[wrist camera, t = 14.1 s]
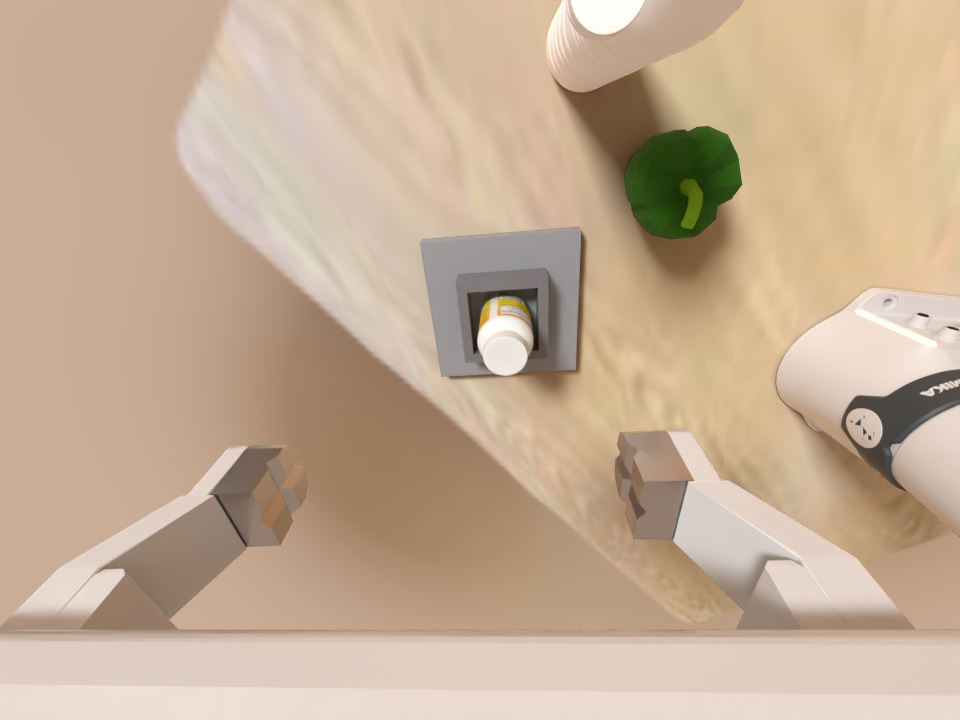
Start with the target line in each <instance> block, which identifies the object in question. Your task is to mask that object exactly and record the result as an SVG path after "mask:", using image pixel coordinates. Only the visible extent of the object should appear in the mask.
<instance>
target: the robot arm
mask: <svg viewBox="0 0 960 720" xmlns="http://www.w3.org/2000/svg"><path fill="white" fill-rule="evenodd" d="M884 301H885V302H884ZM776 386H777V391H778V394H779V396H780V397H781V399H782V400H783V401H784V403H785V404H787V405H788V406H789V407H791V408H793V409H794V410H796V411H798V412H799V413H801V414H802V416H803V418H804V420H805V422H806V423H807V425H808V426H809V427H811V428H812V429H814V430H815V431H818V432H822V431H824V432H825V433H827V434H828V435H829V436H831V437H832V438H833V439H835V440H836V441H837V442H838V443H840V444H841V445H843V446H844V447H845V448H847V449H848V450H849V451H851V452H852V453H853V454H855V455H856V456H858V457H859V458H860V459H862V460H864V461H866V462H867V463H868V464H869V465H870V466H871V467H873V468H874V469H875V472H877V473H878V474H879V475H880V476H881V477H883V478H884V479H886V480H888V481H889V482H890V483H892V484H893V485H894V486H896V487H897V488H899V489H902V490H904V491H908V492H909V493H910V494H911V495H912V496H914V497H915V498H916V499H917V500H918V501H919V502H920V503H922V504H923V505H924V506H925V507H926V508H927V509H928V510H929V511H931V512H932V513H933V514H934V515H935V516H936V517H937V518H939V519H940V520H941V521H942V522H943V523H944V524H945V525H947V526H948V527H949V528H950V529H951V530H952V531H953V532H955V533H956V534H957V535H958V536H959V537H960V297H955V296H947V295H939V294H930V293H922V292H913V291H905V290H897V289H888V288H880V287H875V288H871V289H869V290H867V291H865V292H864V293H862V294H861V295H860V296H859V297H857V298H856V299H855V300H854V301H853V302H852V303H851V304H850V305H848V306H847V307H846V308H845V309H844V310H842V311H841V312H839V313H838V314H836V315H834V316H832V317H830V318H828V319H826V320H824V321H822V322H821V323H819V324H817V325H816V326H814V327H813V328H811V329H810V330H809V331H807V332H806V333H805V334H804V335H802V336H801V337H800V338H799V339H798V340H797V341H796V342H795V343H794V344H793V345H792V347H791V348H790V349H789V350H788V352H787V353H786V355H785V356H784V358H783V360H782V362H781V364H780V366H779V369H778V372H777V377H776ZM617 446H618V448H619V451H620V455H619V456H618V457H617V458H616V460H615V480H616V485H617V489H618V493H619V496H620V498H621V499H622V500H623V501H624V502H626V503H627V506H626V517H627V520H628V523H629V526H630V529H631V532H632V535H633V538H634V539H665V540H673V542H674V543H675V544H676V545H677V546H678V547H679V548H680V549H681V550H682V551H683V552H684V553H685V554H687V555H688V556H689V557H690V558H691V559H692V560H693V561H694V562H695V563H696V564H697V565H698V566H699V567H700V568H701V569H702V570H703V571H704V572H705V573H706V574H707V575H708V576H709V577H710V578H711V579H712V580H713V581H714V582H715V583H716V584H717V585H718V586H719V587H720V588H721V589H722V590H723V591H724V592H725V593H726V594H727V595H728V596H729V597H731V598H732V599H733V600H734V601H735V602H736V603H737V604H738V605H739V606H740V607H741V608H742V609H743V610H744V613H743V615H742V618H741V620H740V622H739V624H738V626H737V629H736V630H178V629H177V627H176V626H175V625H174V624H173V623H172V622H171V621H170V620H169V619H170V618H171V617H172V616H173V615H175V614H176V613H177V612H178V611H179V610H180V609H181V608H182V607H183V606H184V605H186V604H187V603H188V602H189V601H190V600H191V599H192V598H193V597H194V596H196V594H198V592H200V591H201V590H202V589H203V588H204V587H205V586H206V585H208V583H210V582H211V581H212V580H213V579H214V578H215V577H216V576H217V575H219V573H221V572H222V571H223V570H224V569H225V568H226V567H227V566H228V565H230V563H232V562H233V561H234V560H235V559H236V558H237V557H238V556H239V555H241V554H242V553H243V552H244V551H245V550H246V549H247V548H246V547H254V546H256V547H257V546H278V545H281V543H282V541H283V539H284V538H285V536H286V534H287V532H288V530H289V528H290V526H291V524H292V522H293V519H292V515H291V514H292V513H293V512H294V511H296V510H297V509H298V508H300V507H301V505H302V503H303V501H304V499H305V497H306V493H307V488H308V481H307V475H306V473H305V470H304V469H303V468H302V467H300V466H299V465H298V464H296V461H297V459H298V454H297V452H296V450H295V448H294V447H292V446H289V445H255V446H233V447H231V448H229V449H227V450H226V451H225V452H224V453H223V455H222V456H221V457H220V458H219V459H218V460H217V462H216V463H215V464H214V465H213V466H212V467H211V469H210V470H209V471H208V472H207V473H206V474H205V475H204V477H203V478H202V479H201V480H200V481H199V482H198V484H197V485H196V486H195V487H194V488H193V489H192V490H191V492H190V493H189V494H188V495H187V496H180V497H178V498H177V499H175V500H173V501H172V502H170V503H168V504H167V505H165V506H163V507H161V508H160V509H158V510H156V511H155V512H153V513H151V514H150V515H148V516H146V517H145V518H143V519H141V520H140V521H138V522H136V523H135V524H133V525H131V526H130V527H128V528H126V529H124V530H123V531H121V532H119V533H118V534H116V535H114V536H112V537H111V538H109V539H107V540H106V541H104V542H102V543H101V544H99V545H97V546H96V547H94V548H92V549H91V550H89V551H87V552H85V553H84V554H82V555H81V556H79V557H77V558H75V559H74V560H72V561H70V562H68V563H67V564H65V565H63V566H62V567H60V568H59V569H58V570H57V571H56V572H55V573H54V574H53V575H52V576H51V577H50V578H49V579H48V580H47V581H46V582H45V583H44V584H43V585H42V586H41V587H40V588H39V589H38V590H37V591H36V592H35V593H34V594H33V595H32V596H31V597H30V598H29V599H28V600H27V601H26V602H25V603H24V604H23V605H22V606H20V607H19V608H18V609H17V611H15V613H13V614H12V615H11V616H10V617H9V618H8V619H7V620H6V621H5V622H4V623H3V625H1V626H0V720H960V630H916V629H915V628H914V627H913V625H912V624H911V623H910V622H909V621H908V620H907V618H906V617H905V616H904V615H903V613H902V612H901V611H900V610H899V609H898V607H897V606H896V605H895V604H894V603H893V602H892V600H891V599H890V598H889V597H888V596H887V594H886V593H885V592H884V591H883V590H882V588H881V587H880V586H879V585H878V584H877V582H876V581H875V580H874V579H873V578H872V576H871V575H870V574H869V573H868V572H867V570H866V569H865V568H864V567H863V566H862V564H861V563H860V562H859V561H858V560H857V558H855V557H854V556H852V555H850V554H849V553H847V552H846V551H844V550H842V549H841V548H839V547H837V546H836V545H834V544H832V543H831V542H829V541H827V540H826V539H824V538H823V537H821V536H819V535H818V534H816V533H814V532H813V531H811V530H809V529H808V528H806V527H805V526H803V525H801V524H800V523H798V522H796V521H795V520H793V519H791V518H790V517H788V516H786V515H785V514H783V513H782V512H780V511H778V510H777V509H775V508H773V507H772V506H770V505H768V504H767V503H765V502H763V501H762V500H760V499H759V498H757V497H755V496H754V495H752V494H750V493H749V492H747V491H745V490H744V489H742V488H741V487H739V486H737V485H736V484H734V483H732V482H731V481H729V480H727V481H722V480H721V478H720V477H719V475H718V474H717V472H716V471H715V469H714V468H713V466H712V465H711V463H710V462H709V460H708V458H707V457H706V455H705V454H704V452H703V451H702V449H701V448H700V446H699V445H698V443H697V442H696V440H695V438H694V437H693V435H692V434H691V432H690V431H689V430H687V429H670V430H663V431H662V430H657V431H636V432H620V434H619V436H618V443H617Z"/></svg>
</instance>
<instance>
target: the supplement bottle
mask: <svg viewBox="0 0 960 720" xmlns="http://www.w3.org/2000/svg"><path fill="white" fill-rule="evenodd" d="M477 343H478V348H479V351H480V353H481V355H482V356H483V360H484V363H485V365H486V367H487V368H488V369H489V370H490V371H492V372H493V373H495V374H498V375H502V376H508V375H513V374H516V373H518V372H519V371H520V370H522V369H523V367H524V366H525V364H526V362H527V359H528V356H529V354H530V352H531V350H532V348H533V331H532V325H531V317H530V311H529V307H528V305H527V303H526V302H525V300H524V299H523V298H522V297H520V296H519V295H517V294H515V293H512V292H499V293H496V294H494V295H492V296H491V297H489V298H488V299H487V300H486V302H485V303H484V305H483V307H482V310H481V316H480V324H479V331H478V339H477Z"/></svg>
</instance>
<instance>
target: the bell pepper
mask: <svg viewBox="0 0 960 720" xmlns="http://www.w3.org/2000/svg"><path fill="white" fill-rule="evenodd" d="M624 181H625V188H626V195H627V198H628V201H630V202H631V207H632V211H633V214H634V217H635V218H636V219H637V220H638V221H639V223H640V224H641V225H642V226H643V227H644V229H645V230H646V231H648V232H649V233H650V234H652V235H653V236H658V237H663V238H668V239H677V238H688V237H695V236H697V235H699V234H700V233H701V232H702V231H703V230H704V229H705V228H707V227H708V226H709V225H710V224H711V223H712V222H713V221H714V220H715V219H716V212H717V206H719V205H721V204H723V203H725V202H726V201H728V200H730V199H732V197H733V196H734V195H735V193H736V192H737V191H738V189H739V188H740V187H741V185H742V180H741V173H740V166H739V159H738V155H737V153H736V151H735V149H734V147H733V144H732V142H731V140H730V138H729V136H728V135H727V134H725V133H723V132H720V131H718V130H716V129H714V128H711V127H709V126H704V127H696V128H694V129H692V130H690V131H688V132H687V131H686V130H674V131H670V132H667V133H663V134H659V135H656V136H653V137H652V138H651V139H649V140H648V141H647V142H646V143H645V144H644V145H643V146H642V147H641V148H640V149H639V150H638V151H637V153H636V154H635V155H634V156H633V157H632V158H631V160H630V163H629V165H628V168H627V171H626V174H625V176H624Z"/></svg>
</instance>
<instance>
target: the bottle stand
mask: <svg viewBox="0 0 960 720" xmlns="http://www.w3.org/2000/svg"><path fill="white" fill-rule="evenodd" d="M420 246H421V252H422V259H423V265H424V271H425V277H426V283H427V290H428V296H429V302H430V308H431V315H432V321H433V327H434V333H435V339H436V346H437V352H438V358H439V364H440V371H441V377H445V376H464V375H484V374H495V373H493V372H492V371H490V370H489V369H488V368H487V367H486V365H485V363H484V360H483V356H482V355H481V353H480V351H479V348H478V343H477V339H478V331H479V324H480V316H481V310H482V307H483V305H484V303H485V302H486V300H487V299H488V298H489V297H491V296H492V295H494V294H496V293H499V292H512V293H515V294H517V295H519V296H520V297H522V298H523V299H524V300H525V302H526V303H527V305H528V307H529V311H530V317H531V325H532V331H533V348H532V350H531V352H530V354H529V356H528V359H527V362H526V364H525V366H524V367H523V369H522V370H520V371H519V372H518V373H523V372H542V371H562V370H576V350H577V325H578V300H579V275H580V250H581V229H580V228H579V227H571V228H559V229H546V230H534V231H521V232H509V233H496V234H484V235H471V236H459V237H446V238H433V239H422V241H421V242H420Z"/></svg>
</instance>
